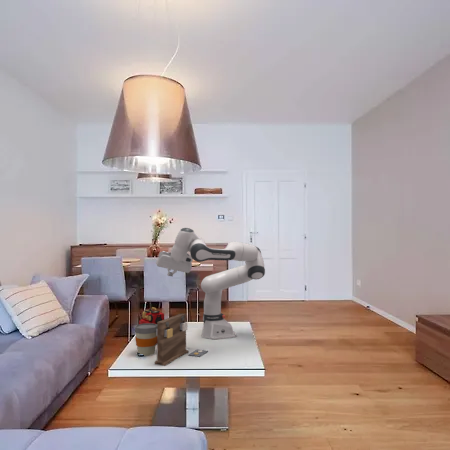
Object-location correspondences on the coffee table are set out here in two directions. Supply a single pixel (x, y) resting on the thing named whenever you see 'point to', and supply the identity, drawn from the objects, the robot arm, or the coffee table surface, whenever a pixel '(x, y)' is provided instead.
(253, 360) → the coffee table surface
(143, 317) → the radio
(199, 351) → the card
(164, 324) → the panel
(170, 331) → the yellow and grey block
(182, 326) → the off-white rectangular block
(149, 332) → the reusable coffee cup
